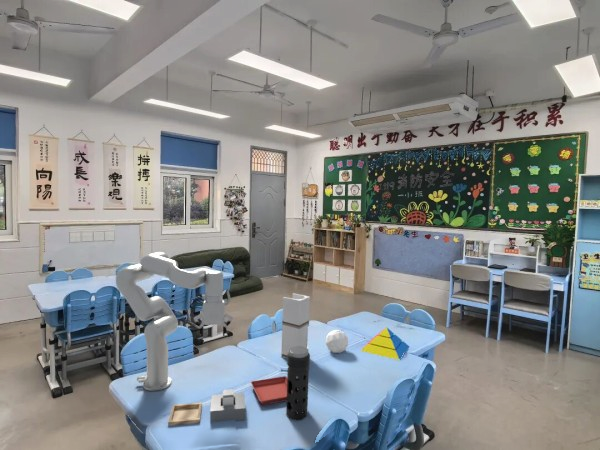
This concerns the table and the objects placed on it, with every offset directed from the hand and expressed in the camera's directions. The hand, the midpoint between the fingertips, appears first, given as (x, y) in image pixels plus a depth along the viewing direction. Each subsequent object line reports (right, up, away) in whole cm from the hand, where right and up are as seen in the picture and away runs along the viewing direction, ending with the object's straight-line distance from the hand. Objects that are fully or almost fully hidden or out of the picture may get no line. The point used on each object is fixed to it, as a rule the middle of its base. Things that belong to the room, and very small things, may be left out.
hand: (212, 335), depth 163 cm
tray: (-8, -29, -15) cm, 33 cm away
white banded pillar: (+37, -26, +44) cm, 63 cm away
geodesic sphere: (+61, -26, +52) cm, 85 cm away
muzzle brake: (+38, -30, -11) cm, 50 cm away
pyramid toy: (+92, -27, +59) cm, 113 cm away
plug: (+9, -28, -12) cm, 32 cm away
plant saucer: (+27, -29, +4) cm, 40 cm away
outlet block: (+9, -29, -12) cm, 33 cm away
